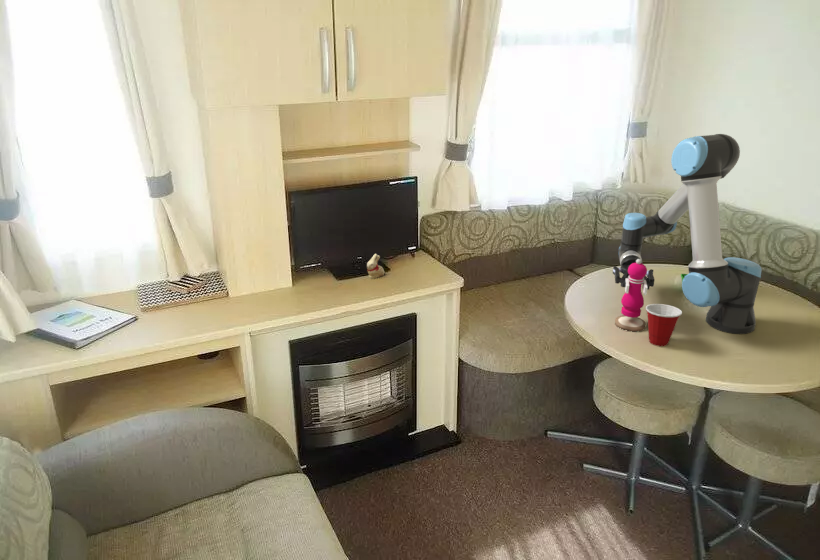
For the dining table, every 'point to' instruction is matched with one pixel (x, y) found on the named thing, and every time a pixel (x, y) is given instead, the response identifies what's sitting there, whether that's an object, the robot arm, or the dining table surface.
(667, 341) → the plastic cup
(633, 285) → the pepper mill
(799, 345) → the dining table surface
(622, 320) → the brown cream oval disc
